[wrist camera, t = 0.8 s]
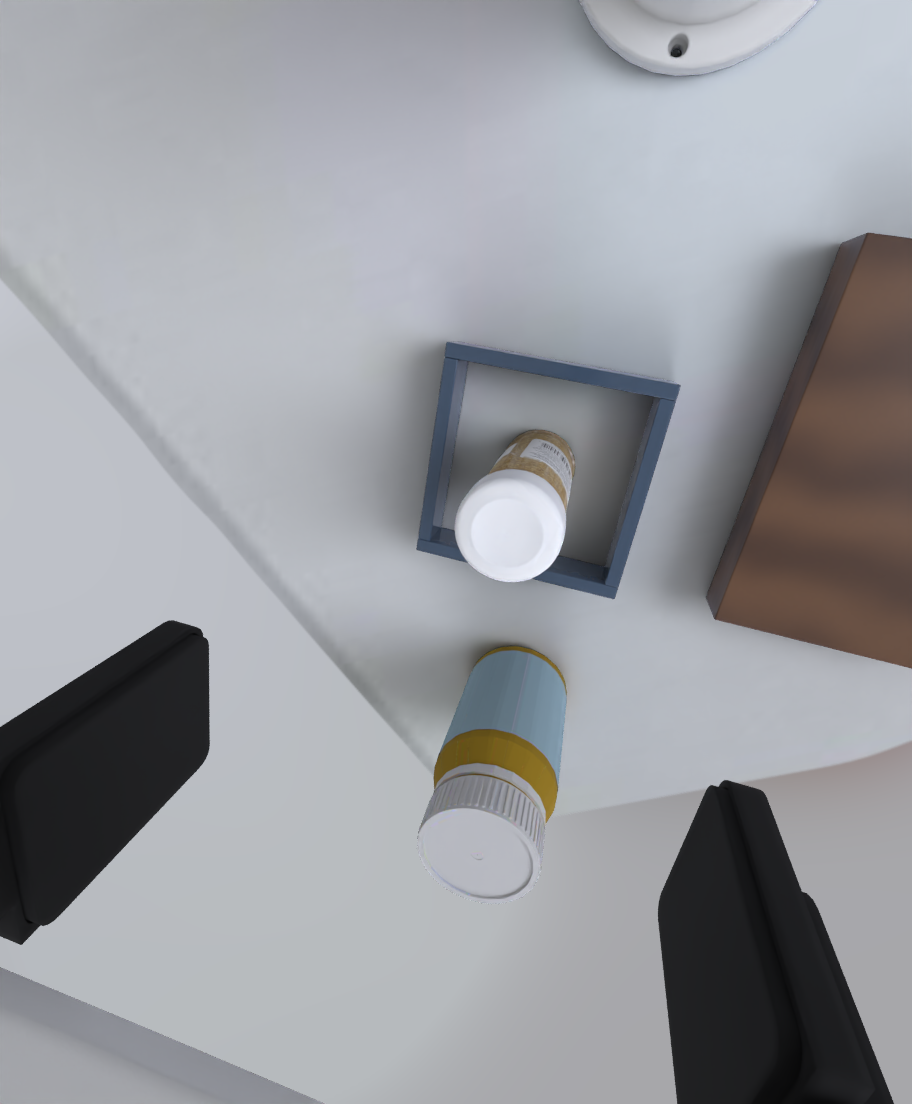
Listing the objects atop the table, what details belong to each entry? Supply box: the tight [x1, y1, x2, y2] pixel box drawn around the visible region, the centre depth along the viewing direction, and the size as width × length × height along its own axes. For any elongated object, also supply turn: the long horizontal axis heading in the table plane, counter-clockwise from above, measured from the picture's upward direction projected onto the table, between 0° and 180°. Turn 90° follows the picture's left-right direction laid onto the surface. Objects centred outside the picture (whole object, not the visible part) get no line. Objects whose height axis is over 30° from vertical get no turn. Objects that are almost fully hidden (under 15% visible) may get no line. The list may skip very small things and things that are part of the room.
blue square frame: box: [416, 342, 680, 599], centre depth 33 cm, size 13×13×3 cm
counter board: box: [706, 233, 912, 668], centre depth 29 cm, size 20×13×3 cm, turn 170°
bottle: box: [417, 646, 567, 904], centre depth 34 cm, size 7×7×15 cm
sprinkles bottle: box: [455, 430, 575, 582], centre depth 29 cm, size 5×5×14 cm
